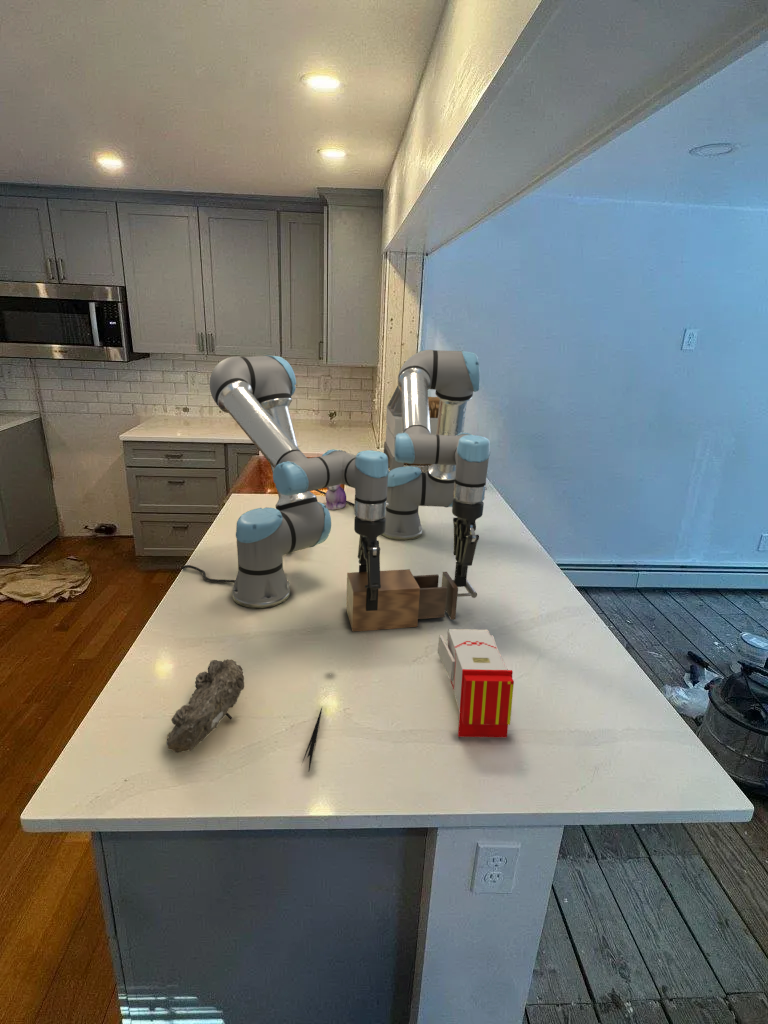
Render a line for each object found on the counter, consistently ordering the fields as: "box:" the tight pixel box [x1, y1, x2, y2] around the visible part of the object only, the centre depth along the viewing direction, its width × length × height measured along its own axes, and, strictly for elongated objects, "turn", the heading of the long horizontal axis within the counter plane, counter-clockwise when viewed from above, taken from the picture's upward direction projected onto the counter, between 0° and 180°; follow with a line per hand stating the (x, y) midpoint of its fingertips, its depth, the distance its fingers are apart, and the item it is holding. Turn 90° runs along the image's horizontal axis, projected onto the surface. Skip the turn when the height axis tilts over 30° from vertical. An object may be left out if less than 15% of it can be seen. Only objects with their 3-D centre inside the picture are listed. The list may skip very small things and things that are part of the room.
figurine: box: [325, 484, 347, 510], centre depth 222 cm, size 9×10×15 cm
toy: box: [437, 628, 515, 738], centre depth 117 cm, size 12×13×30 cm
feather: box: [301, 673, 332, 771], centre depth 108 cm, size 2×28×2 cm
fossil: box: [166, 658, 245, 754], centre depth 106 cm, size 22×10×15 cm
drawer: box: [413, 571, 478, 620], centre depth 146 cm, size 21×9×9 cm, turn 102°
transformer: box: [383, 385, 465, 472], centre depth 268 cm, size 34×33×41 cm
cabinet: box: [346, 568, 420, 632], centre depth 143 cm, size 16×11×11 cm, turn 102°
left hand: (367, 598), depth 142 cm, fingers closed on cabinet, 11 cm apart
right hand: (459, 585), depth 147 cm, fingers closed
